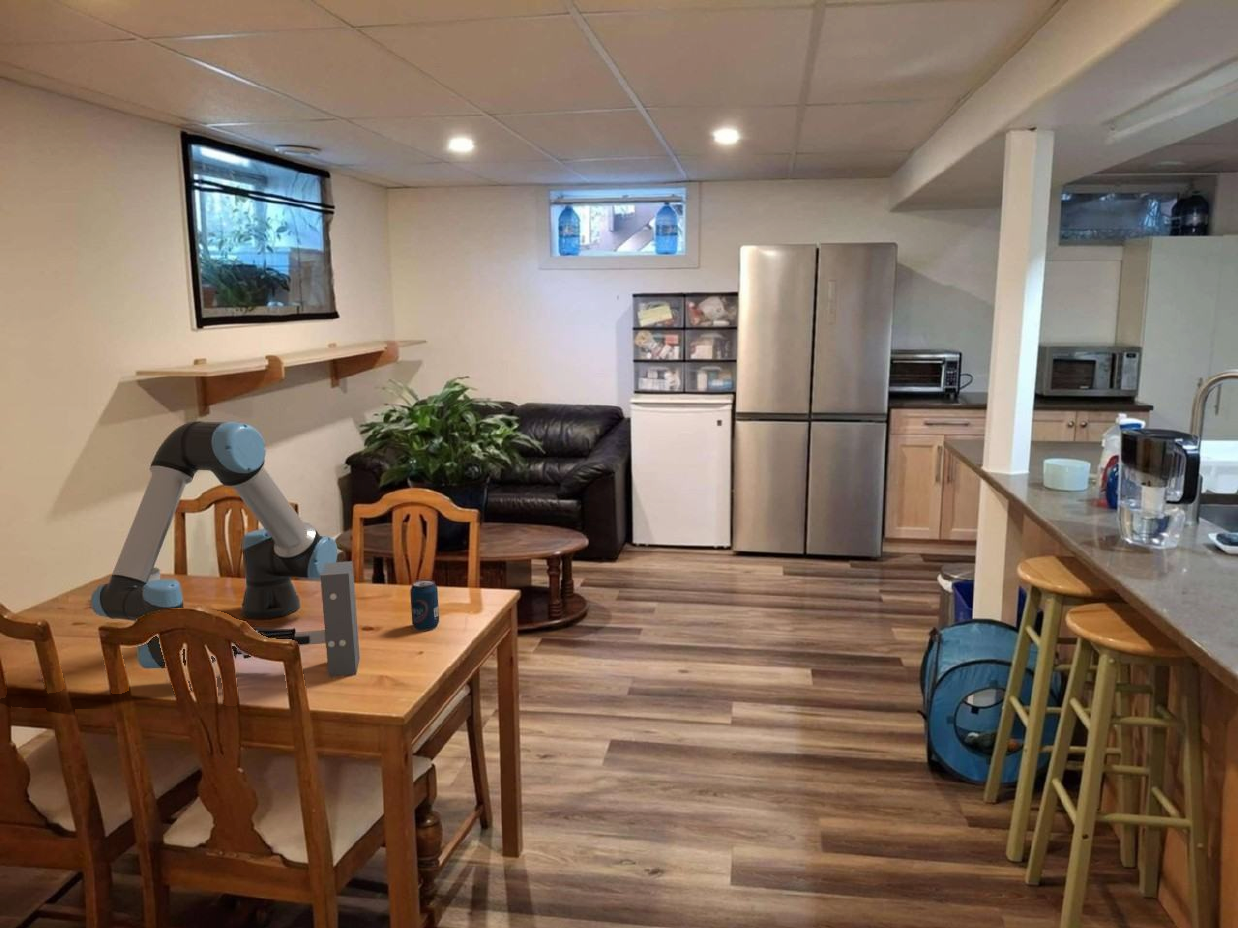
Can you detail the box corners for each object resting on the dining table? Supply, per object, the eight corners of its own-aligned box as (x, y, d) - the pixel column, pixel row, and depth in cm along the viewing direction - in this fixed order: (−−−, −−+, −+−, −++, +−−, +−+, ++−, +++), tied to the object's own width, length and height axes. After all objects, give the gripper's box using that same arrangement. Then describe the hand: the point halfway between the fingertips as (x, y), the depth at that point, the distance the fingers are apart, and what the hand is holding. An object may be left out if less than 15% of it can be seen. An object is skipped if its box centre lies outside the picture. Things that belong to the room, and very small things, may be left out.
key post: (328, 678, 198) (320, 576, 194) (333, 660, 209) (325, 563, 204) (356, 675, 200) (348, 574, 196) (359, 658, 210) (352, 561, 206)
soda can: (407, 629, 228) (404, 585, 226) (422, 620, 234) (419, 577, 232) (430, 632, 226) (427, 587, 224) (444, 623, 232) (442, 579, 230)
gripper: (223, 651, 205) (329, 641, 209) (210, 673, 192) (323, 662, 197) (220, 620, 203) (327, 611, 208) (206, 640, 191) (320, 630, 195)
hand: (325, 636), depth 202 cm, fingers closed
